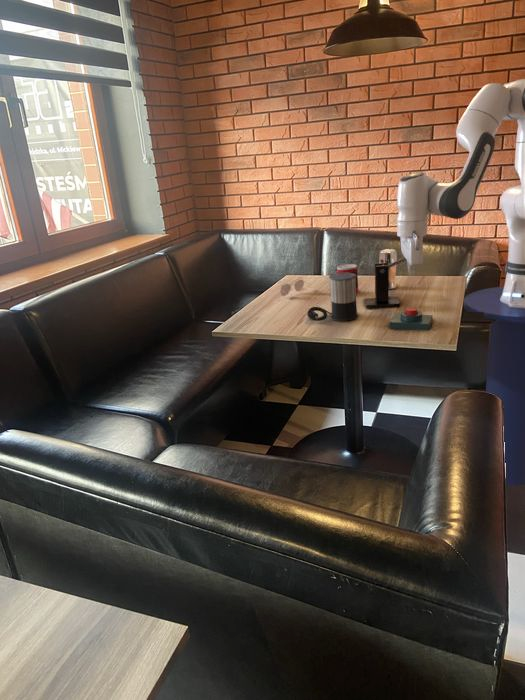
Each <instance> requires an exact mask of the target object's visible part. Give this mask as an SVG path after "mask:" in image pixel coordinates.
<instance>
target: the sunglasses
mask: <svg viewBox="0 0 525 700" xmlns="http://www.w3.org/2000/svg"><path fill="white" fill-rule="evenodd" d="M305 283H306V284H308V286H309V285H310V286H311V287H313V288H314V289H315V292H316V293H317V294H318V292H317V288H316V287H315V286H313V285H312V284H311V283H308V282H307V281H305V280H304V279H298V280H296V281H295V282H294V283H293V284H292V285H291V284H289V283H284V284H282V285H281V286H280V287H279V292H280V293H279V294H280V295H281V296H282V297H285V296H287V295H289V296H290V297H291V299H292V300H294V297H292V295H291V294H289V293H290V292H291V290H292V286H293V288H294V291H296V292H301V291H302V290H303V288H304V285H305Z"/></svg>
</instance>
